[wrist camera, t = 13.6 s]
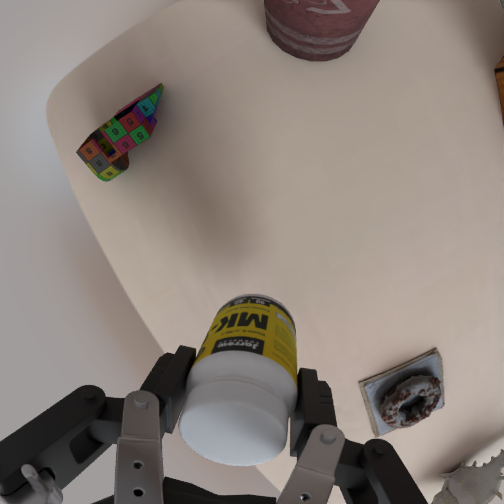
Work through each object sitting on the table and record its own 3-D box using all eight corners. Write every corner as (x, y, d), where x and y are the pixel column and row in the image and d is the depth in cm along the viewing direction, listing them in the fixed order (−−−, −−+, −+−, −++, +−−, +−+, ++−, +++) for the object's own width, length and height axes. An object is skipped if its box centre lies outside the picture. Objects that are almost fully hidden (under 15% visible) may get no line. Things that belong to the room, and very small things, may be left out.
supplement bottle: (274, 277, 16) (264, 375, 8) (307, 344, 17) (318, 457, 9) (199, 310, 17) (143, 408, 9) (237, 370, 18) (211, 477, 10)
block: (95, 127, 19) (120, 159, 21) (76, 152, 16) (107, 188, 18) (161, 83, 17) (186, 120, 20) (150, 99, 14) (180, 143, 17)
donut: (444, 405, 23) (451, 418, 21) (374, 436, 24) (378, 450, 22) (440, 345, 21) (450, 358, 19) (358, 382, 22) (363, 398, 20)
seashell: (534, 413, 26) (417, 510, 27) (536, 382, 25) (407, 493, 26) (569, 439, 15) (440, 553, 16) (578, 409, 14) (434, 543, 15)
